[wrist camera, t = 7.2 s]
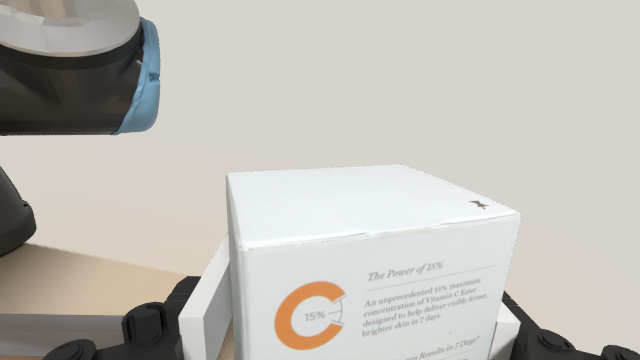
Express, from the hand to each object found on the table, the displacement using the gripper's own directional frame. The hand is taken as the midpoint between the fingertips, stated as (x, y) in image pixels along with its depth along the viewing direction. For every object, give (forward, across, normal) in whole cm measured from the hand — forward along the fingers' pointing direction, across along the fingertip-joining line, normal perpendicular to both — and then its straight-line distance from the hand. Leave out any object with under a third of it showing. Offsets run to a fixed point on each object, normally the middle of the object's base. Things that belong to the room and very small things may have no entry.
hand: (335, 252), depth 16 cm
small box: (-5, 0, -8) cm, 9 cm away
